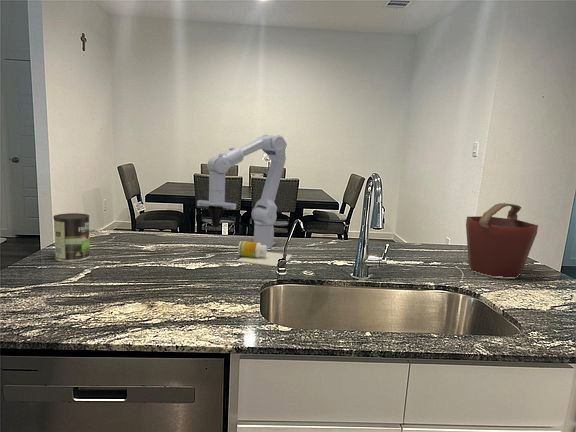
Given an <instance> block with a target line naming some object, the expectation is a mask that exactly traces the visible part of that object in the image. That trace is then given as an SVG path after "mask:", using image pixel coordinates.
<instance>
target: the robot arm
mask: <svg viewBox="0 0 576 432" xmlns="http://www.w3.org/2000/svg"><path fill="white" fill-rule="evenodd" d="M287 146H288V144H287V142H286V140H285V138H284V137H283V135H280V134H276V135H273V134H272V135H270V134H269V135H268V134H264V135H262V136H258V137H256V138H255V139H254V140H252V141H250V142H248V143H247V144H245V145H243V146H241V147H240V148H239V147H236V146H235V147H233V146H231V147H229V148H228V150H227V151H225V152H220V153H219V154H218V156H211V157H210V158H209V160H207V163H206V169H207V170H208V172H209V173H208V174H209V175H208V177H209V178H208V183H209V184H208V200H203V199H199V200H197V201H196V205H197V207H208V208H207V209H206V210H207V212H208V215H209V216H210V219H211V223H212V227H213V228H219V226H220V223H221V220H222V217H223V214H224V213H225V211H226V209H228V210H236V209H237V203H234V202H226V200H225V199H226V174H227V172H228V171H229V169H230V168H232V167H234V166H236V165H238V164H239V163H242V162H243V160H244V158H245V157H246V156H248V155H251V154H253V153H255V152H257V151H259V150H262V151H263V153H264V154H266V155H267V156H268V158H269V160H270V164H269V168H268V172H267V175H266V179H265V183H264V186H263V189H262V193H261V197H260V199H259V200H257V201H256V202H255V206H254V207H253V208H252V210H251V218H252V220H253V223H254V228H253V229H254V230H253V242H257V243H260V244H261V245H267V249H271V247H273V246H274V245H275V244H276V241H274V237H275V227H274V224H275V222H276V220H277V217H278V215H277V211H278V206H277V205H276V203H275V200H276V197H277V193H278V190H279V185H280V182H281V178H282V175H283V170H284V167H285V165H286V158H287V157H286V149H287Z"/></svg>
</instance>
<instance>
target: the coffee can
mask: <svg viewBox="0 0 576 432" xmlns="http://www.w3.org/2000/svg"><path fill="white" fill-rule="evenodd" d="M52 218H53V223H54V225H53V229H54V232H53V233H54V251H55V252H54V253H55V254H54V255H55V258H54V260H55V261H57V262H63V263H75V262H81V261H86V260H89V259H90V258H91V252H90V250H91V249H90V214H86V213H78V212H75V213H74V212H73V213H71V212H70V213H68V212H67V213H60V214H55V215H53V217H52Z"/></svg>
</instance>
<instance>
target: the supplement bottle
mask: <svg viewBox="0 0 576 432" xmlns="http://www.w3.org/2000/svg"><path fill="white" fill-rule="evenodd" d="M267 252H268V248H267V245H261V244H260V243H257V242H254V241H244V240H240V241H239V242H238V246H237V255H238V257H243V256H245V257H256V258H258V257H260V255H261V256H266V255H267Z"/></svg>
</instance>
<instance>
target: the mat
mask: <svg viewBox="0 0 576 432" xmlns="http://www.w3.org/2000/svg"><path fill="white" fill-rule="evenodd" d="M283 254H284V253H278V252H273V251H272V252H271V251H270V252H269V251H267V255H266V256H261V255H260V257H258V258H256V257H245V256H240V258H239V259H237V260H236V263H242V264H243V263H244V264H250V265H258V266H265V267H272V266H275V268H277V267H276V266H277V263H278V260H279V259H282V258H283ZM286 254H287V253H286ZM293 257H294V255H293V254H289V253H288V254H287V256H286V261H287V262H288V261H289V260H290V259H292V258H293Z"/></svg>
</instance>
